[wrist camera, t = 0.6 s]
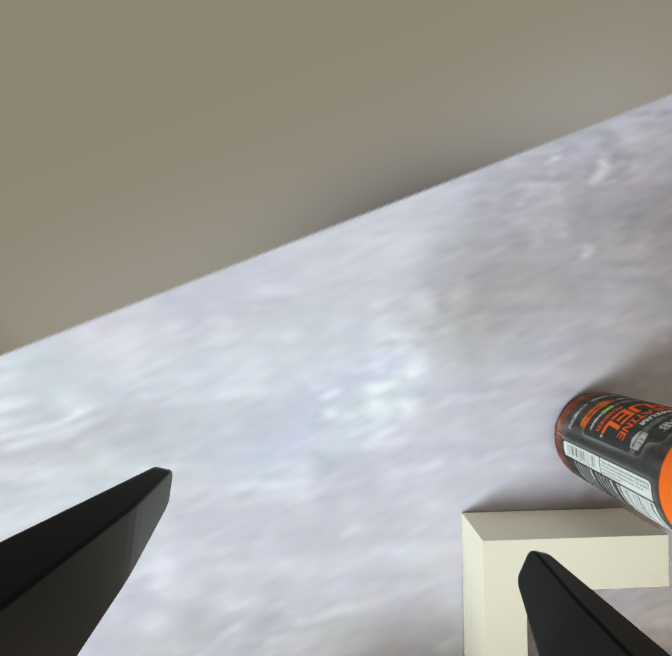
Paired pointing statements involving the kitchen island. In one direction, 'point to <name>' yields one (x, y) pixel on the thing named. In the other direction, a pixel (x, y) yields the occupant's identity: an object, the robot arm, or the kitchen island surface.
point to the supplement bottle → (621, 450)
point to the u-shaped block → (563, 545)
